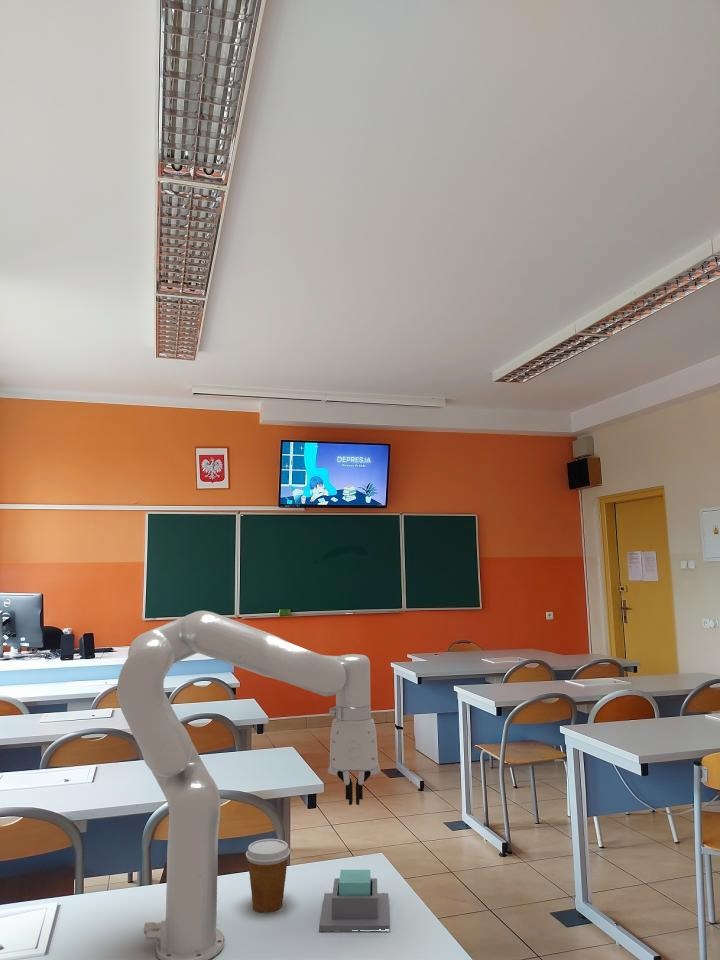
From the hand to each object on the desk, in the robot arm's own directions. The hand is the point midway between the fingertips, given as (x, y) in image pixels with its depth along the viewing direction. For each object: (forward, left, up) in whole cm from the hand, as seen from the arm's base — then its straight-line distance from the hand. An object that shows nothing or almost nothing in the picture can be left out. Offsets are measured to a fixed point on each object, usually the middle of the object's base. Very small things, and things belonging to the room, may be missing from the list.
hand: (354, 802), depth 145 cm
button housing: (0, 0, -22) cm, 22 cm away
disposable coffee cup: (-19, +4, -22) cm, 30 cm away
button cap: (0, 0, -19) cm, 19 cm away
